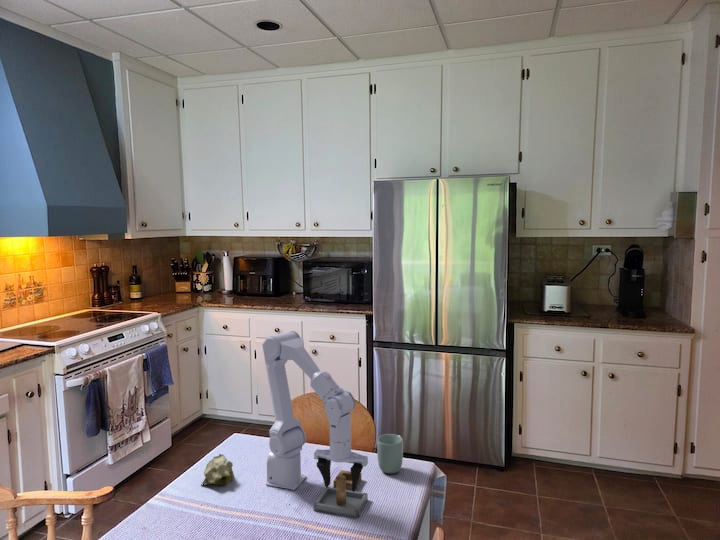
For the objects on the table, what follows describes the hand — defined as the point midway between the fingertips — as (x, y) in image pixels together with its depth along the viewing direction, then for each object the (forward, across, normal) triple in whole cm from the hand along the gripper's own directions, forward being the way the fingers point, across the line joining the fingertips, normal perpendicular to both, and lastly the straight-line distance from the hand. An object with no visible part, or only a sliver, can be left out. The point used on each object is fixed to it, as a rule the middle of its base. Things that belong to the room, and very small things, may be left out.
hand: (341, 487), depth 128 cm
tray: (+5, 0, 0) cm, 5 cm away
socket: (+5, +2, -11) cm, 12 cm away
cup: (+5, -8, -22) cm, 24 cm away
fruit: (+5, +39, -2) cm, 39 cm away
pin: (+4, 0, 0) cm, 4 cm away
